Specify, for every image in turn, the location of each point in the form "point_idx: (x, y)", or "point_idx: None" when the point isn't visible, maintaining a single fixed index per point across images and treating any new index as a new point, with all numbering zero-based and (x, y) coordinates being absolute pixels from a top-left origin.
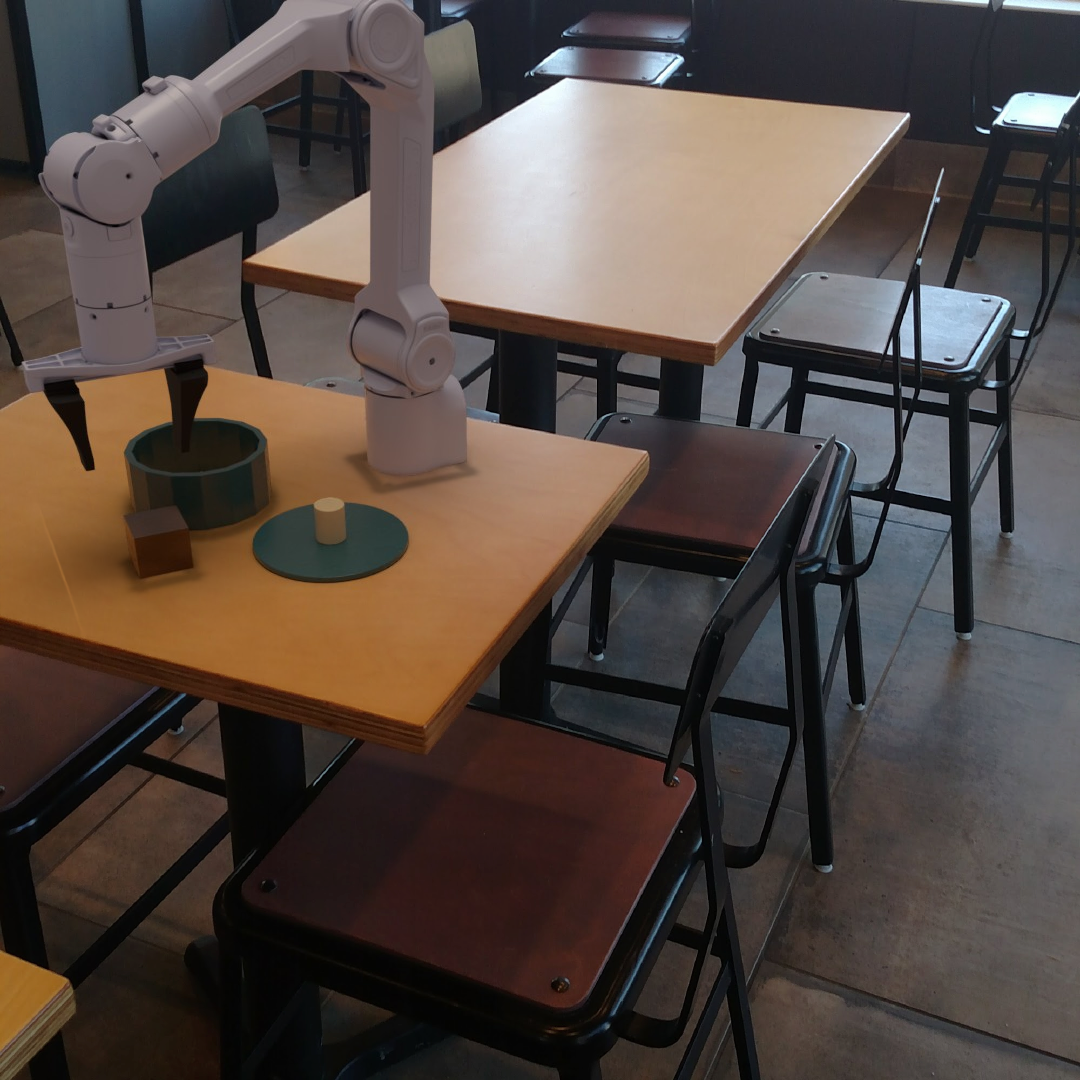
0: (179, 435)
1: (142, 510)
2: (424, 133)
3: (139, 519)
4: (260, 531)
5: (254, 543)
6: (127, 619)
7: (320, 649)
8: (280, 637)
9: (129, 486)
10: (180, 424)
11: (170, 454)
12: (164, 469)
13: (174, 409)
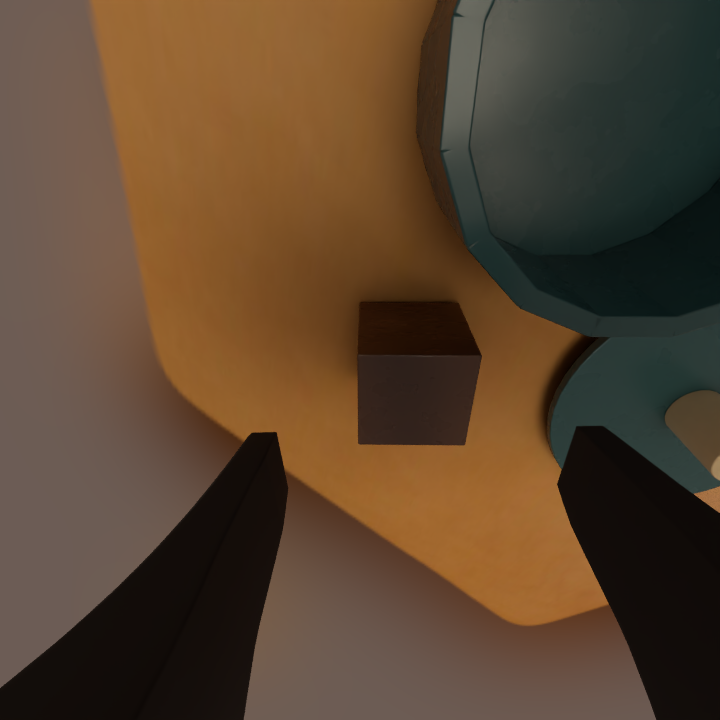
0: (588, 531)
1: (429, 169)
2: None
3: (386, 386)
4: (608, 347)
5: (572, 381)
6: (325, 442)
7: (508, 551)
8: (482, 525)
9: (429, 60)
10: (613, 592)
11: None
12: None
13: (666, 578)
